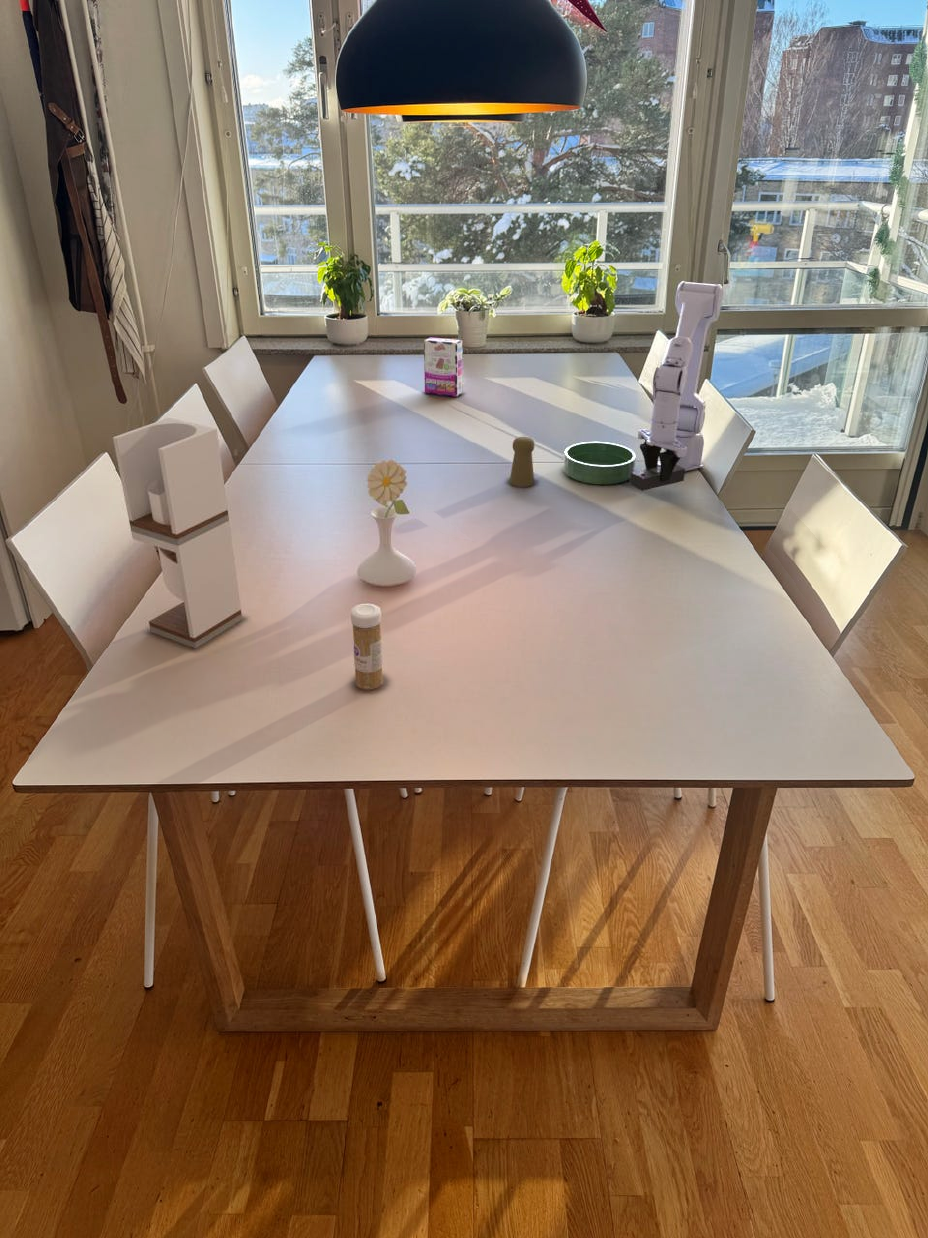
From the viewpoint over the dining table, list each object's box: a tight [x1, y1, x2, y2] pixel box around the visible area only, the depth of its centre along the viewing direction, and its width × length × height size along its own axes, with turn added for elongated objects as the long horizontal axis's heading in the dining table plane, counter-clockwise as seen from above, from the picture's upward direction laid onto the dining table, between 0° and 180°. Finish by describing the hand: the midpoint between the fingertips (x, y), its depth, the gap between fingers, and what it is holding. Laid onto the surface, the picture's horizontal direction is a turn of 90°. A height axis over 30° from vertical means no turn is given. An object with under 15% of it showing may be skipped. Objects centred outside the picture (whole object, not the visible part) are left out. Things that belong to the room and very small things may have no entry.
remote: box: [629, 465, 686, 492], centre depth 208 cm, size 12×4×3 cm, turn 120°
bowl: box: [563, 441, 637, 486], centre depth 222 cm, size 17×17×5 cm
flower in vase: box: [356, 459, 417, 588], centre depth 167 cm, size 13×11×25 cm
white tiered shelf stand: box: [112, 417, 243, 649], centre depth 149 cm, size 11×11×35 cm
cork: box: [509, 436, 535, 488], centre depth 215 cm, size 6×6×11 cm
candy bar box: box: [423, 336, 464, 398], centre depth 277 cm, size 11×5×16 cm, turn 67°
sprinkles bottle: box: [350, 603, 384, 691], centre depth 140 cm, size 5×5×13 cm
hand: (657, 476), depth 209 cm, fingers closed on remote, 4 cm apart
